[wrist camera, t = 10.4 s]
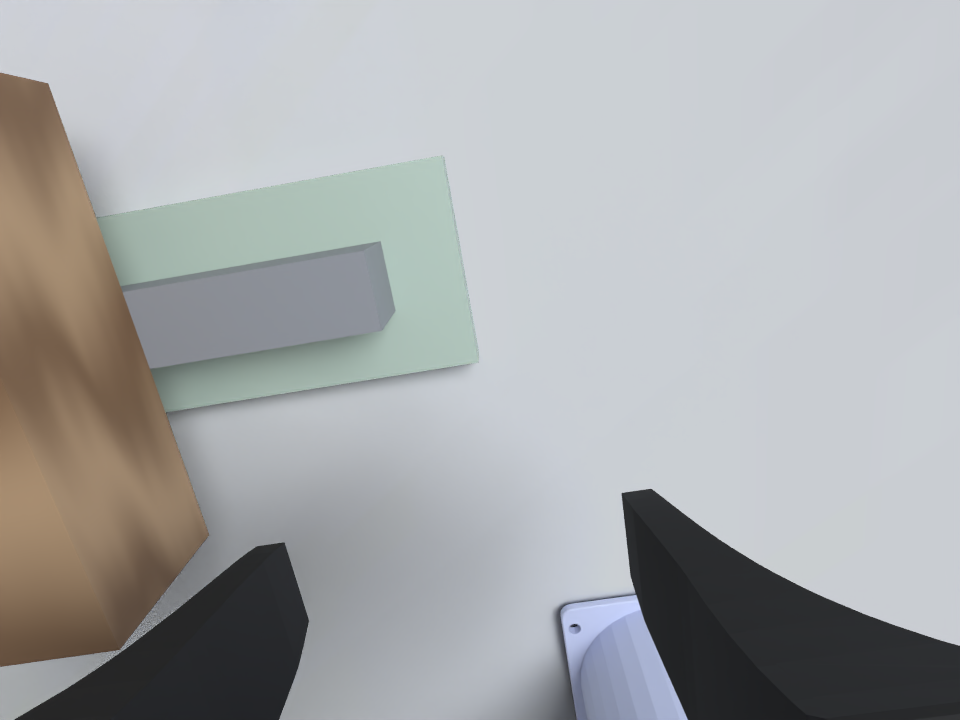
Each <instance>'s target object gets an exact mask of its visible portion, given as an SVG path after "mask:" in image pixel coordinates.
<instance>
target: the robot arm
mask: <svg viewBox="0 0 960 720" xmlns="http://www.w3.org/2000/svg"><path fill="white" fill-rule="evenodd" d="M622 501H623V510H624V519H625V528H626V538H627V547H628V556H629V565H630V574H631V579H632V582H633V585H634V589H635V592H636V595H632V596H625V597H617V598H610V599H603V600H595V601H588V602H580V603H573V604H568V605H566V606H564V607H563V608H562V610H561V614H560V616H561V622H562V628H563V635H564V641H565V648H566V654H567V660H568V667H569V673H570V680H571V686H572V693H573V699H574V705H575V712H576V718H577V720H960V646H958V645H955V644H951V643H947V642H944V641H940V640H937V639H934V638H931V637H928V636H925V635H922V634H919V633H916V632H913V631H910V630H907V629H904V628H901V627H898V626H895V625H892V624H889V623H886V622H884V621H881V620H878V619H876V618H873V617H870V616H868V615H865V614H862V613H860V612H858V611H855V610H853V609H850V608H848V607H846V606H843V605H841V604H838V603H836V602H834V601H831V600H829V599H826V598H824V597H822V596H820V595H818V594H815V593H813V592H811V591H809V590H807V589H805V588H803V587H801V586H799V585H797V584H795V583H793V582H791V581H789V580H787V579H785V578H783V577H781V576H779V575H777V574H775V573H773V572H772V571H770V570H768V569H766V568H764V567H763V566H761V565H759V564H757V563H756V562H754V561H752V560H751V559H749V558H747V557H746V556H744V555H743V554H741V553H739V552H738V551H736V550H734V549H733V548H731V547H730V546H728V545H727V544H725V543H724V542H722V541H721V540H719V539H718V538H716V537H715V536H713V535H712V534H710V533H709V532H708V531H706V530H705V529H703V528H702V527H701V526H699V525H698V524H697V523H695V522H694V521H692V520H691V519H690V518H689V517H687V516H686V515H685V514H683V513H682V512H681V511H679V510H678V509H677V508H676V507H674V506H673V505H672V504H670V503H669V502H668V501H667V500H665V499H664V498H663V497H661V496H660V495H659V494H657V493H656V492H655V491H653V490H652V489H647V490H640V491H633V492H626V493H622ZM308 622H309V620H308V616H307V613H306V610H305V607H304V604H303V600H302V597H301V594H300V591H299V588H298V584H297V581H296V578H295V575H294V572H293V568H292V565H291V562H290V559H289V556H288V552H287V549H286V546H285V543H278V544H271V545H264V546H257V547H256V548H254V549H253V550H251V551H250V552H248V553H247V554H245V555H244V556H243V557H241V558H240V559H239V560H238V561H236V562H235V563H234V564H233V565H231V566H230V567H229V568H228V569H226V570H225V571H224V572H223V573H221V574H220V575H219V576H218V577H217V578H215V579H214V580H213V581H212V582H210V583H209V584H208V585H207V586H206V587H204V588H203V589H202V590H201V591H199V592H198V593H197V594H196V595H195V596H193V597H192V598H191V599H190V600H188V601H187V602H186V603H185V604H184V605H182V606H181V607H180V608H179V609H177V610H176V611H175V612H174V613H172V614H171V615H170V616H168V617H167V618H166V619H164V620H163V621H162V622H161V623H159V624H158V625H157V626H155V627H154V628H153V629H151V630H150V631H149V632H148V633H146V634H145V635H144V636H142V637H141V638H140V639H138V640H137V641H136V642H135V643H133V644H132V645H131V646H129V647H128V648H126V649H125V650H124V651H122V652H121V653H119V654H118V655H117V656H115V657H114V658H112V659H111V660H109V661H108V662H107V663H105V664H104V665H102V666H101V667H99V668H98V669H96V670H95V671H93V672H92V673H90V674H89V675H87V676H86V677H84V678H83V679H81V680H79V681H78V682H76V683H75V684H73V685H72V686H70V687H69V688H67V689H65V690H64V691H62V692H60V693H59V694H57V695H55V696H54V697H52V698H50V699H49V700H47V701H45V702H44V703H42V704H40V705H38V706H37V707H35V708H33V709H32V710H30V711H28V712H27V713H25V714H23V715H22V716H20V717H18V718H16V719H15V720H279V718H280V715H281V713H282V710H283V708H284V705H285V702H286V699H287V697H288V694H289V691H290V689H291V686H292V683H293V680H294V678H295V675H296V672H297V669H298V666H299V662H300V658H301V654H302V650H303V646H304V641H305V636H306V632H307V627H308ZM572 624H578V626H576V627H570V625H572Z"/></svg>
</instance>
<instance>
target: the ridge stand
mask: <svg viewBox="0 0 960 720" xmlns="http://www.w3.org/2000/svg"><path fill="white" fill-rule="evenodd" d="M96 219H97V222H98V225H99V228H100V230H101V233H102V236H103V239H104V242H105V244H106V247H107V250H108V253H109V256H110V258H111V261H112V264H113V267H114V270H115V272H116V275H117V278H118V281H119V284H120V286H121V289H122V292H123V295H124V298H125V301H126V303H127V306H128V309H129V312H130V315H131V317H132V320H133V323H134V326H135V329H136V331H137V334H138V337H139V340H140V343H141V345H142V348H143V351H144V354H145V357H146V359H147V362H148V365H149V368H150V371H151V373H152V376H153V379H154V382H155V385H156V387H157V390H158V393H159V396H160V399H161V401H162V404H163V407H164V410H165V412H171V411H177V410H184V409H190V408H196V407H203V406H209V405H215V404H221V403H228V402H234V401H240V400H246V399H253V398H259V397H265V396H271V395H278V394H284V393H290V392H296V391H303V390H309V389H315V388H321V387H328V386H334V385H340V384H346V383H353V382H359V381H365V380H372V379H378V378H384V377H390V376H397V375H403V374H409V373H415V372H422V371H428V370H434V369H440V368H447V367H453V366H459V365H465V364H472V363H478V360H479V352H478V346H477V340H476V335H475V329H474V323H473V318H472V312H471V306H470V301H469V295H468V290H467V284H466V278H465V273H464V267H463V261H462V256H461V250H460V244H459V239H458V233H457V227H456V222H455V216H454V210H453V205H452V199H451V194H450V188H449V182H448V177H447V171H446V165H445V160H444V157H443V156H437V157H431V158H426V159H420V160H415V161H409V162H404V163H398V164H393V165H387V166H381V167H376V168H370V169H365V170H359V171H354V172H348V173H343V174H337V175H332V176H326V177H320V178H315V179H309V180H304V181H298V182H293V183H287V184H282V185H276V186H271V187H265V188H260V189H254V190H248V191H243V192H237V193H232V194H226V195H221V196H215V197H210V198H204V199H199V200H193V201H187V202H182V203H176V204H171V205H165V206H160V207H154V208H149V209H143V210H138V211H132V212H126V213H121V214H115V215H110V216H104V217H99V218H96Z"/></svg>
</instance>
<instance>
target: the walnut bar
mask: <svg viewBox="0 0 960 720" xmlns="http://www.w3.org/2000/svg"><path fill="white" fill-rule="evenodd" d="M208 536H209V533H208V530H207V527H206V525H205V522H204V519H203V516H202V513H201V511H200V508H199V505H198V502H197V499H196V497H195V494H194V491H193V488H192V485H191V483H190V480H189V477H188V474H187V471H186V469H185V466H184V463H183V460H182V457H181V455H180V452H179V449H178V446H177V443H176V441H175V438H174V435H173V432H172V429H171V427H170V424H169V421H168V418H167V415H166V413H165V410H164V407H163V404H162V401H161V399H160V396H159V393H158V390H157V387H156V385H155V382H154V379H153V376H152V373H151V371H150V368H149V365H148V362H147V359H146V357H145V354H144V351H143V348H142V345H141V343H140V340H139V337H138V334H137V331H136V329H135V326H134V323H133V320H132V317H131V315H130V312H129V309H128V306H127V303H126V301H125V298H124V295H123V292H122V289H121V286H120V284H119V281H118V278H117V275H116V272H115V270H114V267H113V264H112V261H111V258H110V256H109V253H108V250H107V247H106V244H105V242H104V239H103V236H102V233H101V230H100V228H99V225H98V222H97V219H96V216H95V214H94V211H93V208H92V205H91V202H90V200H89V197H88V194H87V191H86V188H85V186H84V183H83V180H82V177H81V174H80V172H79V169H78V166H77V163H76V160H75V158H74V155H73V152H72V149H71V146H70V144H69V141H68V138H67V135H66V132H65V130H64V127H63V124H62V121H61V118H60V116H59V113H58V110H57V107H56V104H55V102H54V99H53V96H52V93H51V90H50V88H49V85H48V83H44V82H39V81H35V80H30V79H26V78H21V77H17V76H13V75H8V74H4V73H0V667H2V666H9V665H16V664H23V663H30V662H37V661H44V660H51V659H59V658H66V657H73V656H80V655H87V654H94V653H101V652H108V651H115V650H120V649H121V647H122V646H123V645H124V644H125V642H126V641H127V640H128V638H129V637H130V636H131V635H132V633H133V632H134V631H135V629H136V628H137V627H138V626H139V624H140V623H141V622H142V620H143V619H144V618H145V617H146V615H147V614H148V613H149V611H150V610H151V609H152V608H153V606H154V605H155V604H156V602H157V601H158V600H159V599H160V597H161V596H162V595H163V593H164V592H165V591H166V590H167V588H168V587H169V586H170V585H171V583H172V582H173V581H174V579H175V578H176V577H177V576H178V574H179V573H180V572H181V570H182V569H183V568H184V567H185V565H186V564H187V563H188V561H189V560H190V559H191V558H192V556H193V555H194V554H195V552H196V551H197V550H198V549H199V547H200V546H201V545H202V543H203V542H204V541H205V540H206V538H207V537H208Z"/></svg>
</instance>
